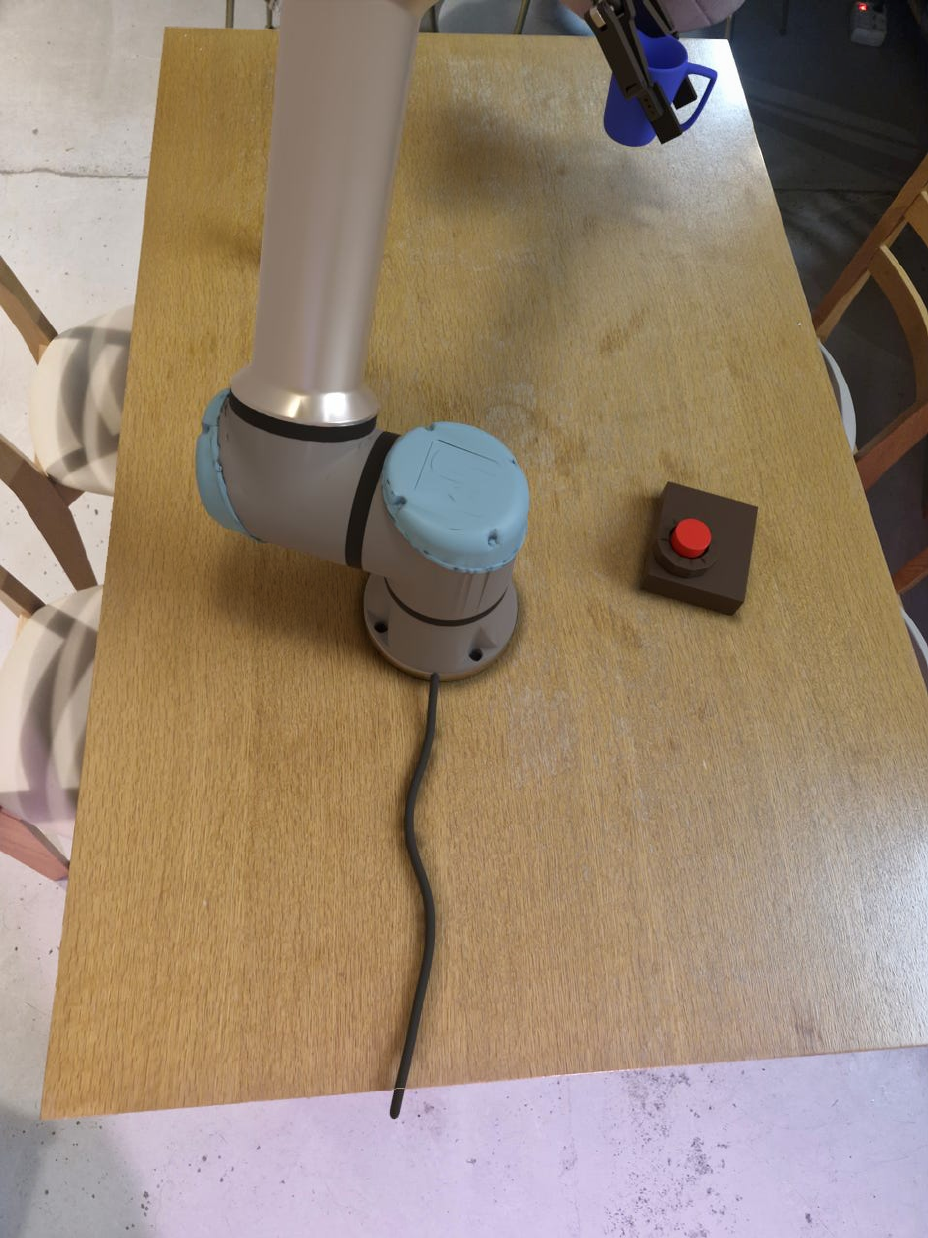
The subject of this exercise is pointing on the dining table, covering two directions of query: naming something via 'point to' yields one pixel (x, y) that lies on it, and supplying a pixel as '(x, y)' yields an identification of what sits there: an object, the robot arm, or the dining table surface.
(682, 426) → the dining table surface
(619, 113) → the mug
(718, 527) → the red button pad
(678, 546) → the power button
